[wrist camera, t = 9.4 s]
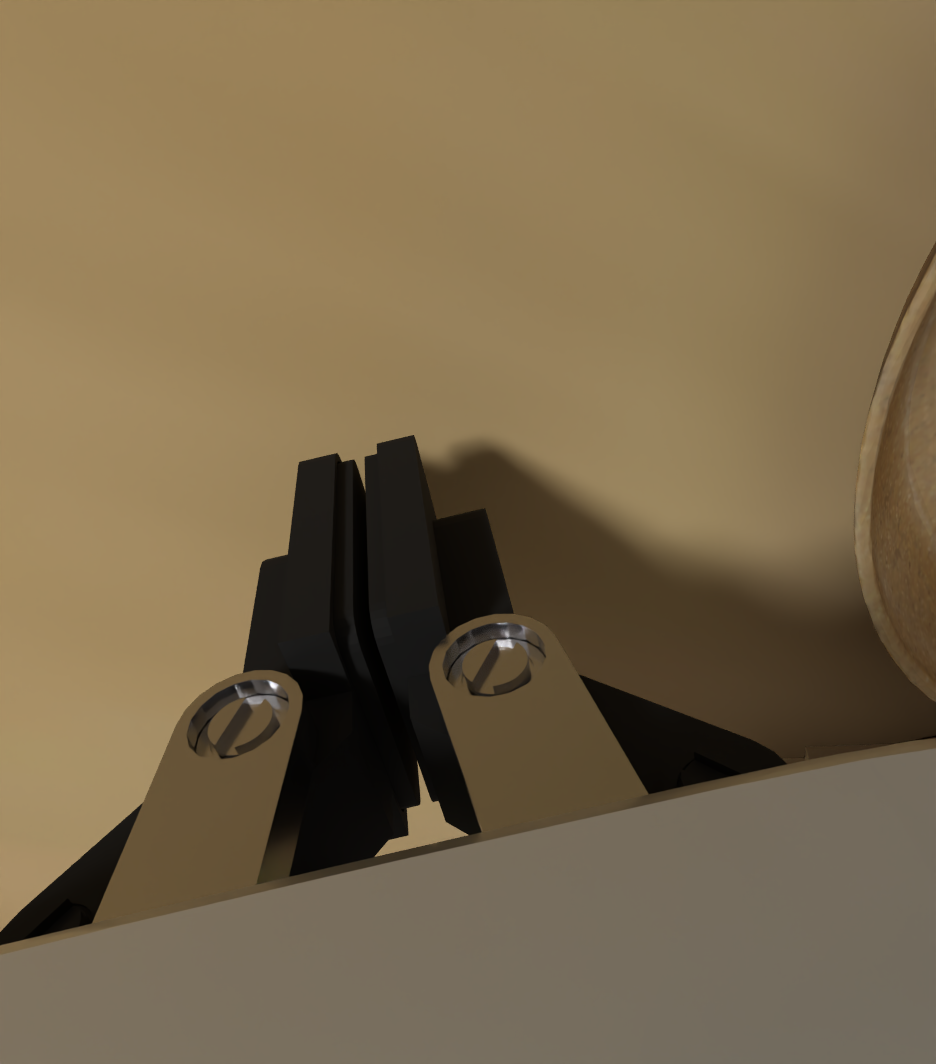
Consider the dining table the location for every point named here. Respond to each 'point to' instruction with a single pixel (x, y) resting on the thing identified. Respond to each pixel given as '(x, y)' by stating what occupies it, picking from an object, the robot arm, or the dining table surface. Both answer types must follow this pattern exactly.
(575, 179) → the dining table surface
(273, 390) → the dining table surface
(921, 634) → the plant saucer
